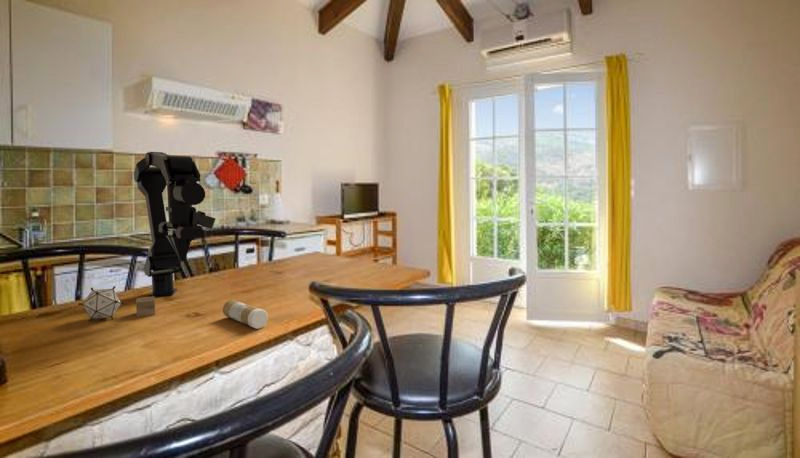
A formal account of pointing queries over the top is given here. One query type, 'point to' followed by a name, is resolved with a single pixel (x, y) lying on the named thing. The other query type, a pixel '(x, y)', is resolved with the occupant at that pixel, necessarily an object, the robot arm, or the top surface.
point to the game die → (101, 303)
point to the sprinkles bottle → (245, 314)
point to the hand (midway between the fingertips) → (183, 260)
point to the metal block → (145, 306)
